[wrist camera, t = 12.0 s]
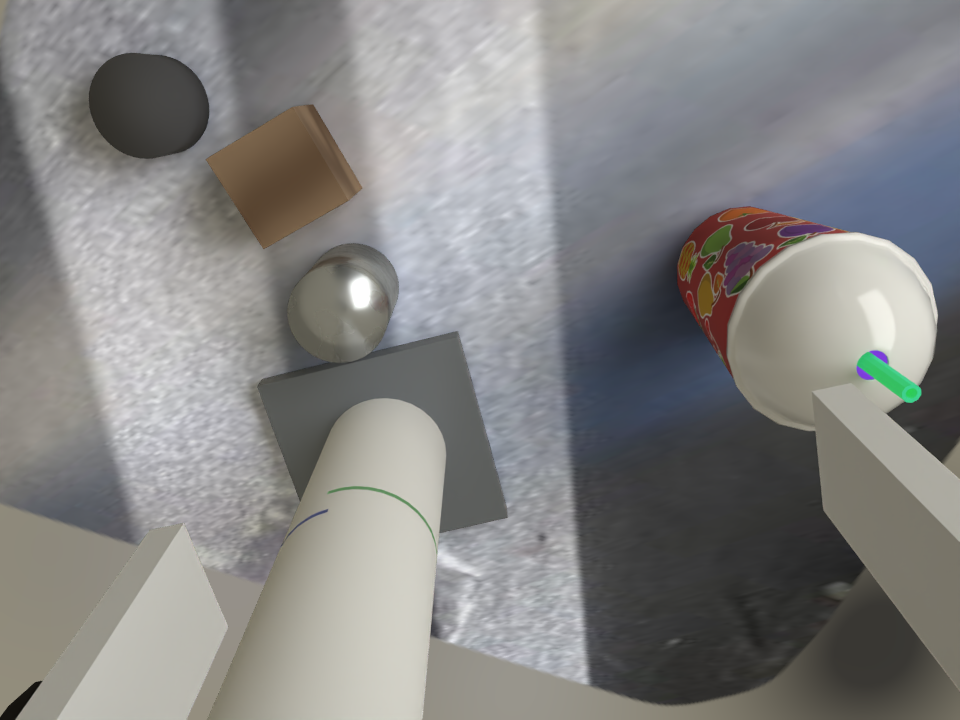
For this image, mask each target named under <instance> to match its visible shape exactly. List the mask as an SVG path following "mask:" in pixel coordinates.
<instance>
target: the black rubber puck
mask: <svg viewBox="0 0 960 720" xmlns="http://www.w3.org/2000/svg"><path fill="white" fill-rule="evenodd" d="M89 106H90V111H91V115H92V118H93V121H94V123H95V125H96V127H97V129H98V130H99V132H100V133H101V135H102V136H103V137H104V138H105V139H106V140H107V141H108V142H109V143H110V144H111V145H112V146H113V147H114V148H116V149H117V150H119V151H121V152H123V153H125V154H127V155H130V156H133V157H137V158H145V159H148V158H156V157H161V156H165V155H170V154H174V153H178V152H182V151H184V150H186V149H188V148H190V147H191V146H193V145H194V144H195V143H196V142H197V141H198V140H199V139H200V138H201V136H202V135H203V133H204V131H205V129H206V126H207V123H208V119H209V103H208V98H207V94H206V91H205V89H204V87H203V85H202V83H201V81H200V80H199V79H198V77H197V76H196V75H195V73H194V72H193V71H192V70H191V69H189V68H188V67H187V66H186V65H184V64H183V63H181V62H180V61H178V60H176V59H173V58H170V57H167V56H162V55H151V54H140V53H126V54H121V55H118V56H115V57H113V58H111V59H110V60H108V61H107V62H105V63H104V64H103V65H102V66H101V67H100V68H99V69H98V71H97V72H96V74H95V76H94V78H93V80H92V83H91V86H90V91H89Z"/></svg>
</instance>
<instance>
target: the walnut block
mask: <svg viewBox="0 0 960 720" xmlns="http://www.w3.org/2000/svg"><path fill="white" fill-rule="evenodd" d="M206 161H207V162H208V164H209V165H210V167H211V168H212V170H213V171H214V173H215V175H216V176H217V178H218V179H219V181H220V182H221V184H222V185H223V187H224V189H225V190H226V192H227V193H228V195H229V196H230V198H231V199H232V201H233V202H234V204H235V206H236V207H237V209H238V210H239V212H240V213H241V215H242V216H243V218H244V220H245V221H246V223H247V224H248V226H249V227H250V229H251V230H252V232H253V234H254V235H255V237H256V238H257V240H258V241H259V243H260V244H261V246H262V247H263V249H265V248H267V247H268V246H270V245H272V244H274V243H275V242H277V241H279V240H281V239H282V238H284V237H286V236H288V235H289V234H291V233H293V232H295V231H296V230H298V229H300V228H302V227H303V226H305V225H307V224H308V223H310V222H312V221H314V220H315V219H317V218H319V217H321V216H322V215H324V214H326V213H328V212H329V211H331V210H333V209H335V208H336V207H338V206H340V205H342V204H343V203H345V202H347V201H349V200H350V199H351V198H352V197H353V196H354V195H355V194H357V193H358V192H359V191H360V190H361V189H362V186H361V185H360V183H359V181H358V180H357V178H356V176H355V175H354V173H353V171H352V169H351V168H350V166H349V164H348V163H347V161H346V159H345V158H344V156H343V154H342V153H341V151H340V149H339V147H338V146H337V144H336V142H335V141H334V139H333V137H332V136H331V134H330V132H329V130H328V129H327V127H326V125H325V124H324V122H323V120H322V119H321V117H320V115H319V114H318V112H317V110H316V108H315V107H314V105H304V106H296V107H292V108H290V109H288V110H287V111H285V112H283V113H282V114H280V115H278V116H277V117H275V118H273V119H272V120H270V121H268V122H267V123H265V124H263V125H262V126H260V127H258V128H257V129H255V130H253V131H252V132H250V133H248V134H247V135H245V136H243V137H242V138H240V139H238V140H237V141H235V142H234V143H232V144H230V145H229V146H227V147H225V148H224V149H222V150H220V151H219V152H217V153H215V154H214V155H212V156H210V157H209V158H207V159H206Z"/></svg>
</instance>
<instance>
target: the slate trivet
mask: <svg viewBox="0 0 960 720" xmlns="http://www.w3.org/2000/svg"><path fill="white" fill-rule="evenodd" d="M257 387H258V390H259V392H260V395H261V398H262V400H263V403H264V406H265V408H266V411H267V414H268V417H269V419H270V422H271V425H272V427H273V430H274V433H275V435H276V438H277V441H278V443H279V446H280V449H281V451H282V454H283V457H284V459H285V462H286V465H287V467H288V470H289V473H290V476H291V478H292V481H293V484H294V486H295V489H296V492H297V494H298V497H299V500H300V501H301V499H302V497H303V494H304V492H305V490H306V487H307V485H308V483H309V480H310V478H311V476H312V473H313V471H314V469H315V466H316V464H317V462H318V459H319V457H320V454H321V452H322V450H323V447H324V445H325V443H326V440H327V438H328V436H329V433H330V431H331V429H332V427H333V426H334V424H335V422H336V421H337V419H338V418H339V417H340V416H341V415H342V414H343V413H344V412H345V411H347V410H348V409H350V408H351V407H352V406H354V405H357V404H359V403H361V402H363V401H367V400H371V399H379V398H390V399H397V400H401V401H404V402H407V403H410V404H412V405H414V406H416V407H418V408H420V409H421V410H423V411H424V412H425V413H426V414H427V415H429V416H430V417H431V418H432V420H433V421H434V422H435V423H436V424H437V426H438V428H439V430H440V431H441V433H442V435H443V439H444V442H445V446H446V464H445V475H444V486H443V497H442V508H441V519H440V530H439V533H442V532H446V531H450V530H455V529H459V528H464V527H468V526H473V525H477V524H482V523H486V522H490V521H495V520H499V519H504V518H508V516H507V506H506V502H505V499H504V495H503V492H502V488H501V484H500V481H499V477H498V474H497V470H496V467H495V463H494V459H493V456H492V452H491V449H490V445H489V441H488V438H487V434H486V431H485V427H484V423H483V420H482V416H481V413H480V409H479V405H478V402H477V398H476V395H475V391H474V387H473V384H472V380H471V377H470V373H469V369H468V366H467V362H466V359H465V355H464V351H463V348H462V344H461V341H460V337H459V334H458V331H456V332H452V333H448V334H444V335H440V336H436V337H432V338H428V339H424V340H420V341H415V342H411V343H407V344H403V345H399V346H395V347H391V348H387V349H383V350H379V351H375V352H371V353H369V354H368V355H366V356H365V357H363V358H360V359H358V360H355V361H352V362H346V363H335V362H330V363H326V364H322V365H318V366H314V367H310V368H306V369H302V370H298V371H294V372H290V373H286V374H281V375H277V376H273V377H269V378H265V379H262V381H261V382H260V383H259V385H258V386H257Z"/></svg>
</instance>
